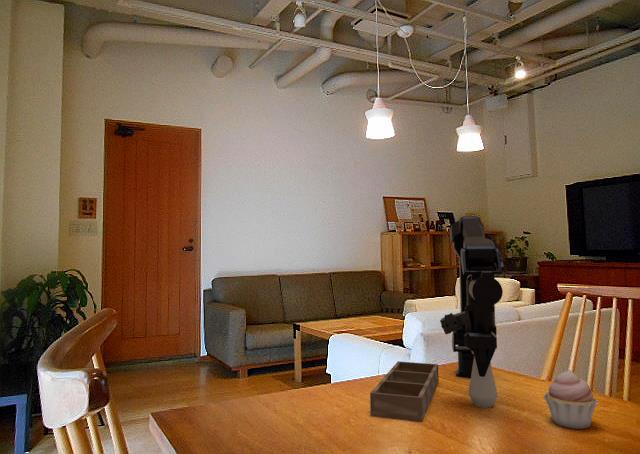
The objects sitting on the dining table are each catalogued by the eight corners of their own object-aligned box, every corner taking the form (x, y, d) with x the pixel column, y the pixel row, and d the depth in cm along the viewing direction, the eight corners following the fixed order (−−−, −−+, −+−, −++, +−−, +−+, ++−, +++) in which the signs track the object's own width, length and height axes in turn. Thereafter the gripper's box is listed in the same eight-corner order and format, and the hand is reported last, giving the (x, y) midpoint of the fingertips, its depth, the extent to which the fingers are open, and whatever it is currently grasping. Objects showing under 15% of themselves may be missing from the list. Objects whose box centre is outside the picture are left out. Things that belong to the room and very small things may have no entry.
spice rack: (398, 378, 122) (397, 361, 122) (438, 382, 119) (438, 364, 119) (370, 415, 95) (370, 393, 95) (421, 421, 91) (421, 398, 92)
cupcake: (607, 424, 90) (605, 370, 90) (588, 437, 83) (586, 379, 84) (556, 411, 97) (554, 362, 97) (535, 422, 90) (534, 369, 91)
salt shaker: (492, 411, 97) (490, 347, 98) (465, 405, 101) (463, 344, 101) (501, 403, 102) (499, 342, 102) (474, 398, 105) (473, 339, 106)
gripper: (446, 295, 114) (447, 361, 113) (437, 304, 96) (439, 382, 96) (495, 297, 110) (497, 365, 109) (495, 306, 93) (498, 387, 92)
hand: (482, 373), depth 102 cm, fingers open, 4 cm apart
